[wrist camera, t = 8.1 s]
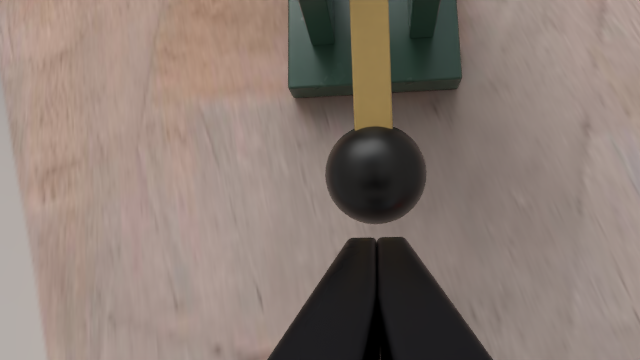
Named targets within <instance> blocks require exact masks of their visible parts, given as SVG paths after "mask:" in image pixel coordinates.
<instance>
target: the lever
mask: <svg viewBox="0 0 640 360" xmlns="http://www.w3.org/2000/svg"><path fill="white" fill-rule="evenodd" d="M349 2H350V27H351V53H352V78H353V103H354V129H353V130H351V131H349V132H348V133H346V134H345V135H344V136H342V137H341V138H340V139H339V140H338V142H337V143H336V144H335V145H334V147H333V149H332V150H331V152H330V155H329V157H328V160H327V164H326V174H325V177H326V184H327V188H328V191H329V194H330V196H331V198H332V199H333V201H334V203H335V204H336V205H337V206H338V208H339V209H340V210H341V211H343V212H344V213H345V214H346V215H348V216H349V217H351V218H353V219H355V220H357V221H360V222H364V223H369V224H383V223H388V222H391V221H394V220H397V219H399V218H401V217H402V216H404V215H405V214H407V213H408V212H409V211H410V210H411V209H412V208H413V207H414V206H415V205H416V204H417V202H418V201H419V199H420V197H421V195H422V193H423V190H424V187H425V182H426V165H425V161H424V158H423V155H422V153H421V151H420V149H419V147H418V146H417V144H416V143H415V142H414V141H413V140H412V138H411V137H409V136H408V135H407V134H406V133H404V132H403V131H401V130H399V129H397V128H395V127H393V122H392V92H391V63H390V33H389V3H388V0H349Z"/></svg>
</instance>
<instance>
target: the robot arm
mask: <svg viewBox="0 0 640 360" xmlns="http://www.w3.org/2000/svg"><path fill="white" fill-rule="evenodd" d="M380 358H381V360H493V359H492V358H491V356H490V355H489V354H488V352H487V351H486V349H485V348H484V347H483V345H482V344H481V342H480V341H479V340H478V338H477V337H476V335H475V334H474V333H473V331H472V330H471V329H470V327H469V326H468V324H467V323H466V322H465V320H464V319H463V317H462V316H461V315H460V313H459V312H458V311H457V309H456V308H455V306H454V305H453V304H452V302H451V301H450V299H449V298H448V297H447V295H446V294H445V293H444V291H443V290H442V288H441V287H440V286H439V284H438V283H437V281H436V280H435V279H434V277H433V276H432V275H431V273H430V272H429V270H428V269H427V268H426V266H425V265H424V263H423V262H422V261H421V259H420V258H419V257H418V255H417V254H416V252H415V251H414V250H413V248H412V247H411V245H410V244H409V243H408V241H407V240H406V239H405V238H403V237H382V238H379V239H378V240H377V242H376V240H375V239H374V238H351V239H349V240H348V241H347V242H346V244H345V245H344V247H343V248H342V250H341V251H340V253H339V254H338V255H337V257H336V258H335V260H334V261H333V263H332V264H331V266H330V267H329V269H328V270H327V272H326V273H325V275H324V276H323V278H322V279H321V281H320V282H319V284H318V285H317V287H316V288H315V290H314V291H313V293H312V294H311V296H310V297H309V299H308V300H307V302H306V303H305V304H304V306H303V307H302V309H301V310H300V312H299V313H298V315H297V316H296V318H295V319H294V321H293V322H292V324H291V325H290V327H289V328H288V330H287V331H286V333H285V334H284V336H283V337H282V339H281V340H280V342H279V343H278V345H277V346H276V348H275V349H274V351H273V352H272V353H271V355H270V356H269V358H268V359H267V360H380Z"/></svg>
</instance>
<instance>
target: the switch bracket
mask: <svg viewBox="0 0 640 360" xmlns="http://www.w3.org/2000/svg"><path fill="white" fill-rule="evenodd" d="M388 3H389V33H390V63H391V92H408V91H426V90H444V89H457V88H458V86H459V83H460V81H461V78H462V70H461V56H460V42H459V28H458V15H457V1H456V0H388ZM288 88H289V90H290V92H291V94H292V96H293V97H294V98H301V97H319V96H337V95H353V78H352V53H351V27H350V2H349V0H288Z"/></svg>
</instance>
